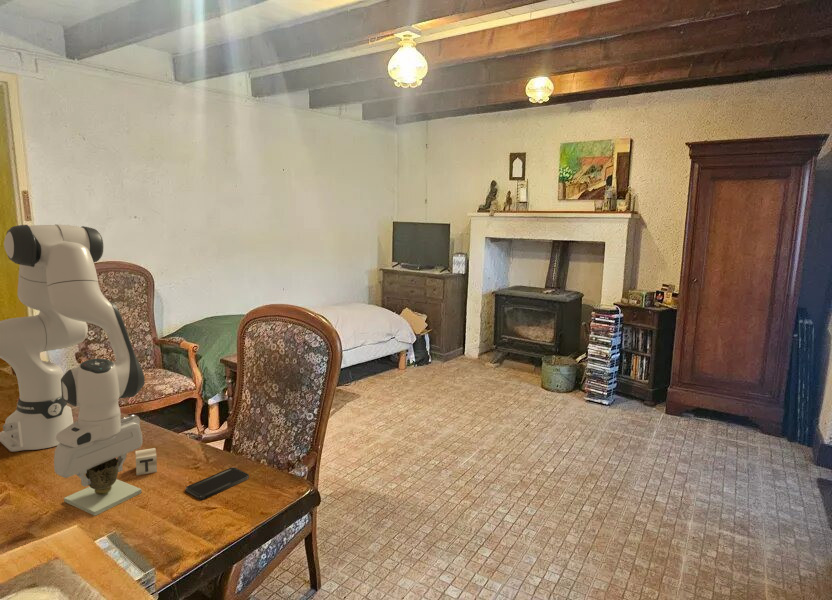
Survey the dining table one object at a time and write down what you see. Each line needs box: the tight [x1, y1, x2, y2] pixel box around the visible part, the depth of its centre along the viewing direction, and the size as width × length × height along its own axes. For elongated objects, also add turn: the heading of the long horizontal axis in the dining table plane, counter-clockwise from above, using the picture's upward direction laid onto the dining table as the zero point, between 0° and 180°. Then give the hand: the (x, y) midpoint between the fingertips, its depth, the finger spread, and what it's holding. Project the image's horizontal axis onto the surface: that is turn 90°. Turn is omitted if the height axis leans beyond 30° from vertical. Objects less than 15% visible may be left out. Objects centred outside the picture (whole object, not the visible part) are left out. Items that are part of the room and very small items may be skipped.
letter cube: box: [134, 447, 158, 476], centre depth 142 cm, size 5×5×5 cm
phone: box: [185, 466, 250, 501], centre depth 137 cm, size 8×1×15 cm
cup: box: [84, 457, 119, 495], centre depth 127 cm, size 8×7×8 cm
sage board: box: [63, 478, 142, 517], centre depth 128 cm, size 12×12×1 cm
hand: (102, 477), depth 128 cm, fingers closed on cup, 6 cm apart
